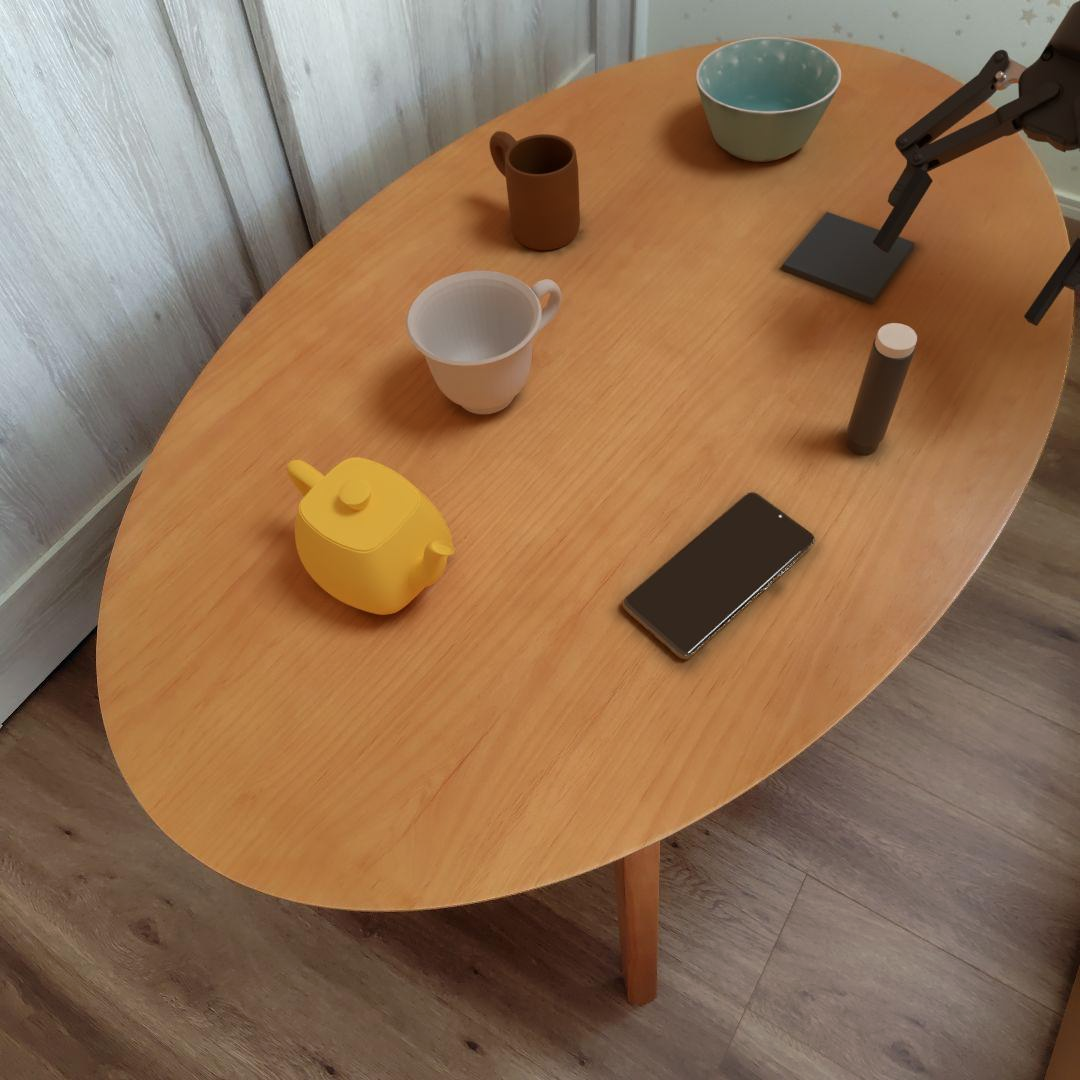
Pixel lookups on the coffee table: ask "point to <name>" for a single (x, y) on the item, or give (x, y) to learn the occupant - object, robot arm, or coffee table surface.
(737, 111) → the bowl
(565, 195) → the mug
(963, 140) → the robot arm
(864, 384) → the dark grey capped cylinder
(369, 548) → the teapot
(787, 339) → the coffee table surface
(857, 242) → the pad
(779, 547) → the smartphone
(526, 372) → the teacup
